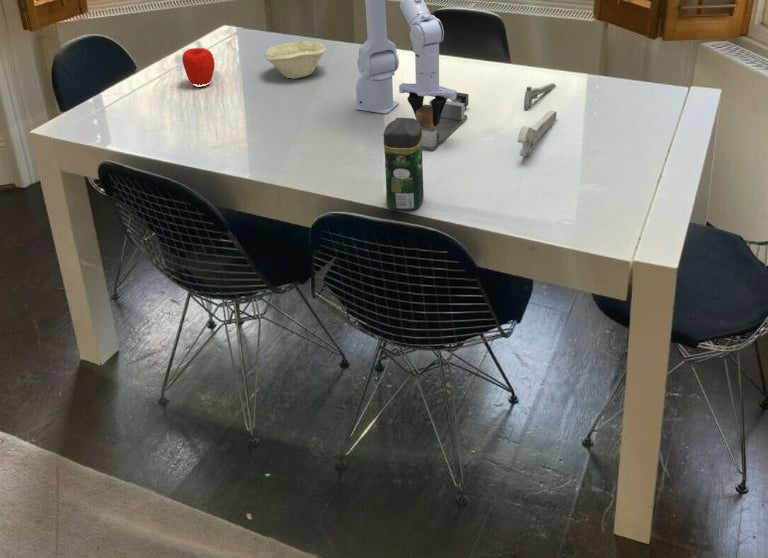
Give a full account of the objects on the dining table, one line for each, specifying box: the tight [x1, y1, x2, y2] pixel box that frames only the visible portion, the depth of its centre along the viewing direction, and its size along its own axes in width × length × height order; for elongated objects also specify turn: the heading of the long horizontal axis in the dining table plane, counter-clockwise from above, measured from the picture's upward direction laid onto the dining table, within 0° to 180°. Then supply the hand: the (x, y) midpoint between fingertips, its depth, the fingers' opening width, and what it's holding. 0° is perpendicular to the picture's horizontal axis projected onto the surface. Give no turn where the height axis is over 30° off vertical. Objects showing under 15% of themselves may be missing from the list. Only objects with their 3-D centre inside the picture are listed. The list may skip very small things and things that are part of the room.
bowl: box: [263, 40, 327, 80], centre depth 273 cm, size 14×18×15 cm
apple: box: [181, 47, 216, 85], centre depth 269 cm, size 9×9×11 cm
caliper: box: [523, 82, 557, 111], centre depth 252 cm, size 20×1×6 cm, turn 149°
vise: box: [422, 114, 468, 152], centre depth 235 cm, size 9×22×5 cm, turn 154°
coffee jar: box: [383, 117, 425, 212], centre depth 199 cm, size 10×8×19 cm
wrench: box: [517, 109, 557, 157], centre depth 227 cm, size 8×2×30 cm
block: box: [415, 103, 439, 131], centre depth 230 cm, size 4×5×6 cm
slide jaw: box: [428, 92, 469, 120], centre depth 244 cm, size 9×11×4 cm
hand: (427, 123), depth 231 cm, fingers closed on block, 4 cm apart
